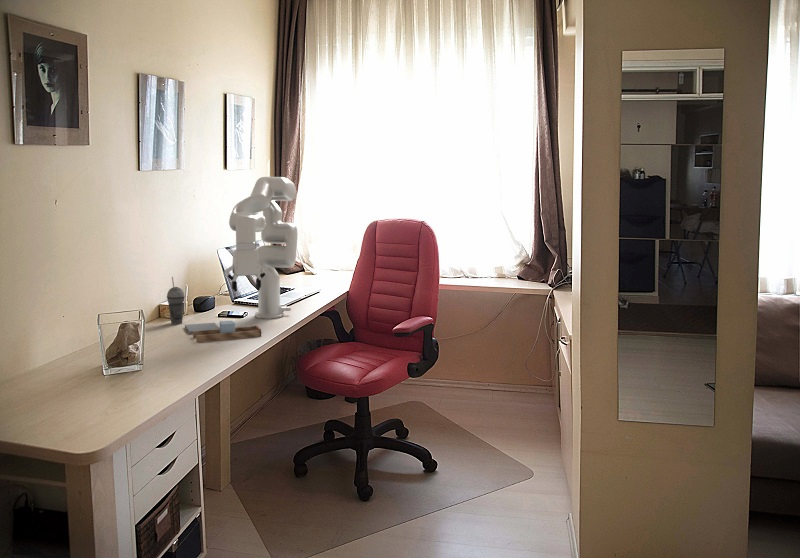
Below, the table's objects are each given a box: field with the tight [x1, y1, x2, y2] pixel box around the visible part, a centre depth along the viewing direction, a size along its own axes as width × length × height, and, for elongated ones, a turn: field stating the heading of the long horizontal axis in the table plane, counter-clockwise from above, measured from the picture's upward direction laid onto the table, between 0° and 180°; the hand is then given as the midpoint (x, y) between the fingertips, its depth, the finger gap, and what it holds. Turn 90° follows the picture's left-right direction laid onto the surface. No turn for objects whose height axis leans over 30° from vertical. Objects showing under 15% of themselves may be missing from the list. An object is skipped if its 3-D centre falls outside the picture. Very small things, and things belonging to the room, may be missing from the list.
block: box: [219, 320, 236, 333], centre depth 284 cm, size 5×5×6 cm
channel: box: [192, 324, 262, 343], centre depth 284 cm, size 25×8×3 cm, turn 115°
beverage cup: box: [166, 276, 186, 326], centre depth 303 cm, size 7×7×20 cm
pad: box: [184, 322, 220, 335], centre depth 295 cm, size 12×12×1 cm
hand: (246, 290), depth 285 cm, fingers open, 8 cm apart
